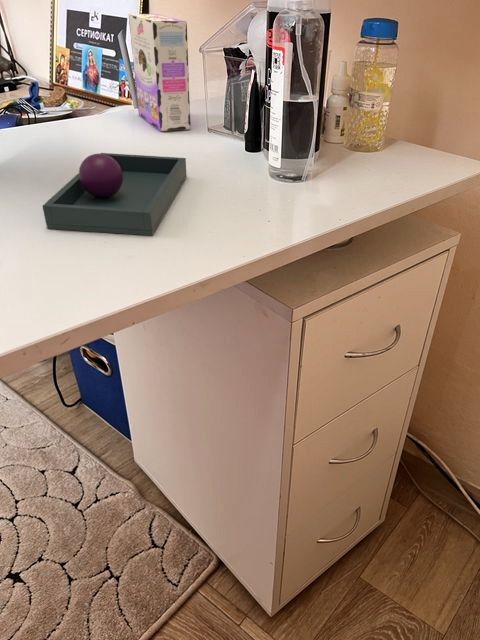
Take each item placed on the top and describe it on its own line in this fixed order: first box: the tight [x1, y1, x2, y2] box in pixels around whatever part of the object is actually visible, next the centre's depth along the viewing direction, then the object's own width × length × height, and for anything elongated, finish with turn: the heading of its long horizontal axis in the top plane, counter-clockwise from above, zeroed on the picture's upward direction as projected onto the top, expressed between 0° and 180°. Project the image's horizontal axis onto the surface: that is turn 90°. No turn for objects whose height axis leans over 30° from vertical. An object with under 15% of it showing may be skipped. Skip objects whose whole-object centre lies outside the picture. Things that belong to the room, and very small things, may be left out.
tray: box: [42, 152, 188, 237], centre depth 65 cm, size 12×20×3 cm, turn 176°
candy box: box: [128, 13, 192, 132], centre depth 92 cm, size 14×6×16 cm, turn 27°
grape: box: [78, 153, 123, 198], centre depth 63 cm, size 5×5×5 cm
